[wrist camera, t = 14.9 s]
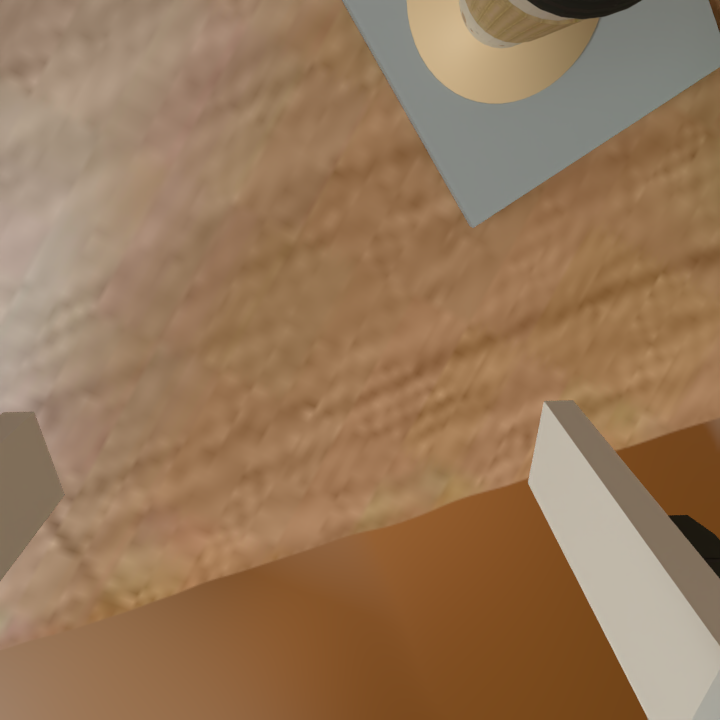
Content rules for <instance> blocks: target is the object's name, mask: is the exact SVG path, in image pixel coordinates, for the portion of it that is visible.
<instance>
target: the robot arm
mask: <svg viewBox="0 0 720 720" xmlns="http://www.w3.org/2000/svg"><path fill="white" fill-rule="evenodd" d="M528 484H529V486H530V488H531V490H532V492H533V494H534V496H535V498H536V500H537V502H538V504H539V505H540V507H541V509H542V511H543V513H544V515H545V517H546V519H547V521H548V523H549V525H550V527H551V529H552V531H553V533H554V535H555V537H556V539H557V541H558V543H559V545H560V546H561V549H562V551H563V553H564V554H565V557H566V559H567V561H568V562H569V564H570V566H571V568H572V570H573V572H574V574H575V576H576V578H577V580H578V582H579V584H580V586H581V588H582V590H583V592H584V594H585V596H586V598H587V600H588V602H589V603H590V605H591V607H592V609H593V611H594V613H595V615H596V617H597V619H598V621H599V623H600V625H601V627H602V629H603V631H604V633H605V635H606V637H607V639H608V641H609V643H610V645H611V647H612V649H613V651H614V653H615V655H616V656H617V659H618V661H619V663H620V664H621V666H622V668H623V670H624V672H625V674H626V676H627V678H628V680H629V682H630V684H631V686H632V688H633V690H634V692H635V694H636V696H637V698H638V700H639V702H640V704H641V706H642V708H643V710H644V712H645V713H646V715H647V717H648V719H649V720H720V540H719V539H718V538H717V536H716V535H715V534H713V533H712V532H711V531H709V530H708V529H706V528H705V527H704V526H702V525H701V524H699V523H698V522H696V521H695V520H694V519H692V518H691V517H689V516H688V515H674V516H673V515H672V516H668V515H667V514H666V513H665V512H664V511H663V509H662V508H661V507H660V506H659V504H658V503H657V502H656V501H655V499H654V498H653V497H652V496H651V495H650V493H649V492H648V491H647V490H646V489H645V487H644V486H643V485H642V484H641V483H640V481H639V480H638V479H637V478H636V476H635V475H634V474H633V473H632V472H631V470H630V469H629V468H628V467H627V465H626V464H625V463H624V462H623V461H622V459H621V458H620V457H619V456H618V455H617V453H616V452H615V451H614V450H613V448H612V447H611V446H610V445H609V444H608V442H607V441H606V440H605V439H604V437H603V436H602V435H601V434H600V433H599V431H598V430H597V429H596V428H595V427H594V425H593V424H592V423H591V422H590V420H589V419H588V418H587V417H586V416H585V414H584V413H583V412H582V411H581V409H580V408H579V407H578V406H577V405H576V403H575V402H574V401H573V400H569V401H544V404H543V409H542V414H541V419H540V424H539V430H538V435H537V440H536V445H535V450H534V455H533V460H532V465H531V470H530V475H529V481H528ZM64 495H65V494H64V491H63V489H62V486H61V483H60V480H59V478H58V475H57V472H56V470H55V467H54V464H53V462H52V459H51V456H50V453H49V451H48V448H47V445H46V443H45V440H44V437H43V435H42V432H41V429H40V427H39V424H38V421H37V418H36V416H35V413H34V412H5V413H2V414H1V415H0V581H1V579H2V578H3V577H4V575H5V574H6V573H7V571H8V570H9V569H10V567H11V566H12V565H13V563H14V562H15V561H16V559H17V558H18V557H19V555H20V554H21V553H22V551H23V550H24V549H25V547H26V546H27V545H28V543H29V542H30V541H31V539H32V538H33V537H34V535H35V534H36V533H37V531H38V530H39V529H40V527H41V526H42V525H43V523H44V522H45V521H46V519H47V518H48V517H49V515H50V514H51V513H52V511H53V510H54V509H55V507H56V506H57V505H58V503H59V502H60V501H61V499H62V498H63V497H64Z"/></svg>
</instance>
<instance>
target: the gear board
mask: <svg viewBox="0 0 720 720" xmlns="http://www.w3.org/2000/svg"><path fill="white" fill-rule="evenodd" d="M342 1H343V3H344V5H345V6H346V8H347V10H348V12H349V13H350V15H351V17H352V19H353V20H354V22H355V24H356V26H357V27H358V29H359V31H360V33H361V35H362V36H363V38H364V40H365V42H366V43H367V45H368V47H369V49H370V50H371V52H372V54H373V56H374V58H375V59H376V61H377V63H378V65H379V66H380V68H381V70H382V72H383V73H384V75H385V77H386V79H387V80H388V82H389V84H390V86H391V88H392V89H393V91H394V93H395V95H396V96H397V98H398V100H399V102H400V103H401V105H402V107H403V109H404V111H405V112H406V114H407V116H408V118H409V119H410V121H411V123H412V125H413V126H414V128H415V130H416V132H417V133H418V135H419V137H420V139H421V141H422V142H423V144H424V146H425V148H426V149H427V151H428V153H429V155H430V156H431V158H432V160H433V162H434V164H435V165H436V167H437V169H438V171H439V172H440V174H441V176H442V178H443V179H444V181H445V183H446V185H447V186H448V188H449V190H450V192H451V194H452V195H453V197H454V199H455V201H456V202H457V204H458V206H459V208H460V209H461V211H462V213H463V215H464V217H465V218H466V220H467V222H468V224H469V225H470V226H471V227H473V228H474V227H475V226H477V225H478V224H480V223H481V222H483V221H484V220H486V219H487V218H489V217H491V216H492V215H494V214H495V213H497V212H498V211H500V210H501V209H503V208H504V207H506V206H507V205H509V204H510V203H512V202H514V201H515V200H517V199H518V198H520V197H521V196H523V195H524V194H526V193H527V192H529V191H530V190H532V189H533V188H535V187H536V186H538V185H540V184H541V183H543V182H544V181H546V180H547V179H549V178H550V177H552V176H553V175H555V174H556V173H558V172H559V171H561V170H563V169H564V168H566V167H567V166H569V165H570V164H572V163H573V162H575V161H576V160H578V159H579V158H581V157H582V156H584V155H585V154H587V153H589V152H590V151H592V150H593V149H595V148H596V147H598V146H599V145H601V144H602V143H604V142H605V141H607V140H608V139H610V138H612V137H613V136H615V135H616V134H618V133H619V132H621V131H622V130H624V129H625V128H627V127H628V126H630V125H631V124H633V123H635V122H636V121H638V120H639V119H641V118H642V117H644V116H645V115H647V114H648V113H650V112H651V111H653V110H654V109H656V108H657V107H659V106H661V105H662V104H664V103H665V102H667V101H668V100H670V99H671V98H673V97H674V96H676V95H677V94H679V93H680V92H682V91H684V90H685V89H687V88H688V87H690V86H691V85H693V84H694V83H696V82H697V81H699V80H700V79H702V78H703V77H705V76H706V75H708V74H710V73H711V72H713V71H714V70H716V69H717V68H719V67H720V32H719V29H718V26H717V23H716V20H715V17H714V14H713V12H712V9H711V6H710V3H709V0H642V1H640V2H638V3H637V4H635V5H633V6H632V7H630V8H628V9H626V10H623V11H620V12H617V13H614V14H611V15H609V16H606V17H599V18H591V19H586V20H583V21H581V22H578V23H576V24H573V25H571V26H568V27H566V28H563V29H561V30H558V31H556V32H553V33H551V34H548V35H546V36H544V37H541V38H538V39H535V40H533V41H530V42H523V43H521V44H518V45H516V46H513V47H509V48H493V47H490V46H487V45H484V44H483V43H481V42H480V41H478V40H477V39H476V38H475V37H474V36H473V35H472V34H471V33H470V32H469V30H468V29H467V27H466V26H465V24H464V21H463V18H462V16H461V12H460V6H459V0H342Z"/></svg>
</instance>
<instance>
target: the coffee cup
mask: <svg viewBox="0 0 720 720" xmlns="http://www.w3.org/2000/svg"><path fill="white" fill-rule="evenodd" d="M640 1H642V0H459V6H460V12H461V16H462V18H463V21H464V24H465V26H466V27H467V29H468V30H469V32H470V33H471V34H472V35H473V36H474V37H475V38H476V39H477V40H478V41H480V42H481V43H483V44H484V45H487V46H490V47H493V48H509V47H513V46H516V45H518V44H521V43H523V42H530V41H533V40H535V39H538V38H541V37H544V36H546V35H548V34H551V33H553V32H556V31H558V30H561V29H563V28H566V27H568V26H571V25H573V24H576V23H578V22H581V21H583V20H586V19H591V18H599V17H606V16H609V15H611V14H614V13H617V12H620V11H623V10H626V9H628V8H630V7H632V6H633V5H635V4H637V3H638V2H640Z"/></svg>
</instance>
